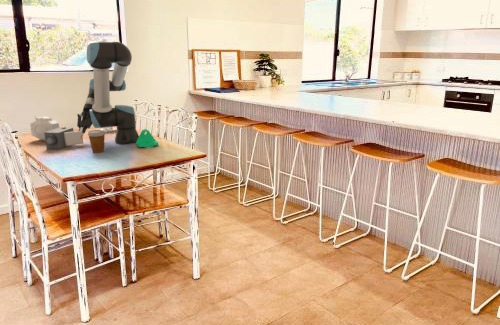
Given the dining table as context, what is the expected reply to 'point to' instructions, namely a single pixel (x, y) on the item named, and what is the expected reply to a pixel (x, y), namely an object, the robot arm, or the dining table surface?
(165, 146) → the dining table surface
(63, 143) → the box
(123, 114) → the robot arm
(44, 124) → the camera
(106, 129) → the white piece
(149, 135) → the green triangular piece
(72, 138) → the side door
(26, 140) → the dining table surface
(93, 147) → the disposable coffee cup
